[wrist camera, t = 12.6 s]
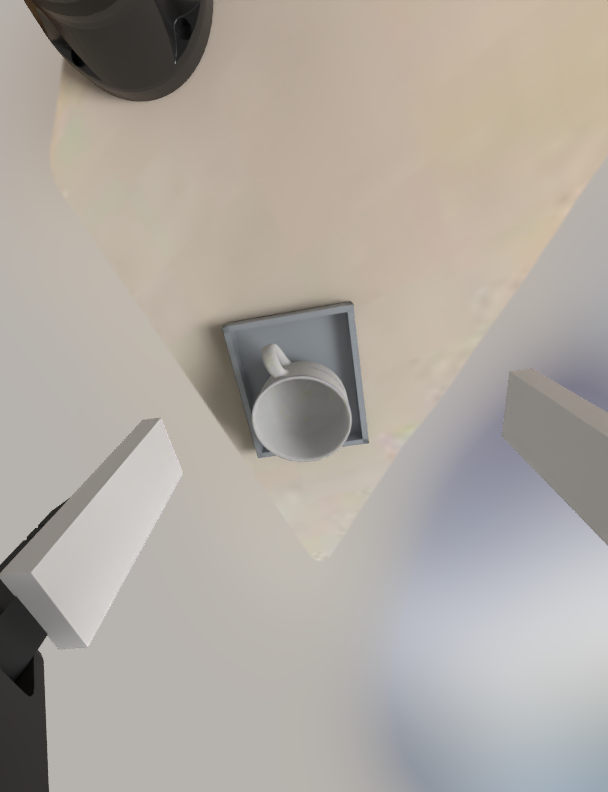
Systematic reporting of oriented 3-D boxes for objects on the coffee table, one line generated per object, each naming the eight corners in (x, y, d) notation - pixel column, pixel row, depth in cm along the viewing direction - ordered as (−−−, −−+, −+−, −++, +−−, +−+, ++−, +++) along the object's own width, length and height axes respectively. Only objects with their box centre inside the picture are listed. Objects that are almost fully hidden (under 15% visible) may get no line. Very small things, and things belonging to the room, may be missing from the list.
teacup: (352, 420, 44) (360, 454, 36) (274, 437, 45) (267, 473, 38) (329, 318, 38) (333, 333, 31) (242, 340, 40) (226, 360, 32)
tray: (227, 322, 40) (221, 327, 37) (350, 301, 38) (353, 304, 36) (260, 447, 47) (257, 458, 44) (365, 433, 45) (368, 443, 43)
